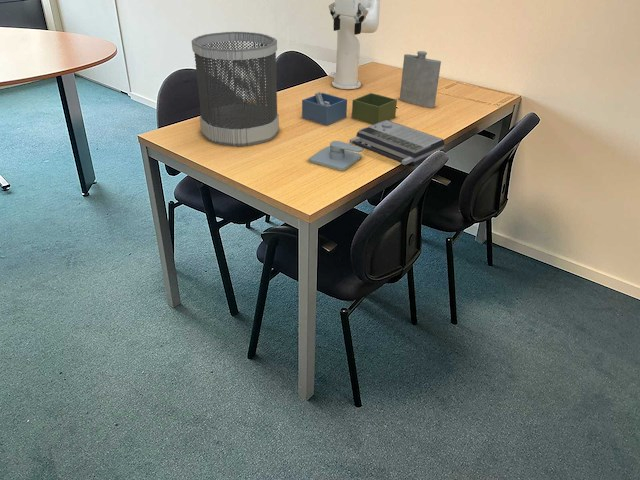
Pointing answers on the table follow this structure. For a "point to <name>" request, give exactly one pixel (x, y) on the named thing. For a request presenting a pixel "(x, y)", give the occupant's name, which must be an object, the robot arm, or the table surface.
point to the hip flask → (419, 80)
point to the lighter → (320, 100)
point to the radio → (398, 142)
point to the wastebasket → (240, 118)
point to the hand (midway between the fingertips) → (346, 32)
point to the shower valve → (337, 155)
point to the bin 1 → (324, 109)
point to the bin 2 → (374, 108)
